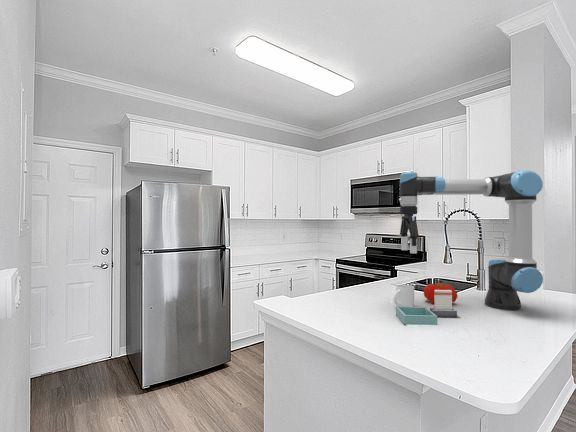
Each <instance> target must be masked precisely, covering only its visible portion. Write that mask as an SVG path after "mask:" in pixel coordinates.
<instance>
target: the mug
mask: <svg viewBox="0 0 576 432" xmlns="http://www.w3.org/2000/svg"><path fill="white" fill-rule="evenodd" d="M393 303H394V305H396V306H395V307H415V287H414V285H411V284H404V283H402V284H396V286H395V292H394V294H393Z"/></svg>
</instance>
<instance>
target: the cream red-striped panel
mask: <svg viewBox="0 0 576 432" xmlns="http://www.w3.org/2000/svg"><path fill="white" fill-rule="evenodd" d="M433 304H434V305H433V306H434V307H433V308H434V309H435V310H452V309H453V303H452V291H451V290H434V303H433Z"/></svg>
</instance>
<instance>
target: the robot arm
mask: <svg viewBox="0 0 576 432" xmlns="http://www.w3.org/2000/svg"><path fill="white" fill-rule="evenodd" d="M543 184H544V183H543V180H542V177H541V176H540V175H539V174H538V173H537V172H535V171H532V170H528V169H525V170H524V169H523V170H522V169H521V170H516V171H513V172H509V173H505V174H500V175H496V176H486V177H484V178H483V179H481V178H480V179H478V178H477V179H473V178H472V179H467V178H466V179H465V178H464V179H458V178H457V179H445V178H444V177H443V176H436V175H435V176H419V175H418V173H417V172H416V171H405V172H402V173H401V174H400V176H399V198H398V201H399V203H400V204H399V205H400V207H399V214H400V215H403V216H401V223H400V230H399V235H400V237H401V239H400V240H401V247H400V249H401V251H408V249H409V253H410V254H418V240H417V239H418V238H419V237H420V236H419V235H420V233H419V231H418V229H419V228H418V223H417V216H416V215H417V214H418V196H425V195H426V196H431V195H432V196H433V195H434V196H435V195H436V196H437V195H438V196H439V195H444V196H446V195H447V196H449V195H452V196H453V195H456V196H457V195H458V196H459V195H466V196H467V195H469V196H470V195H483V196H484V197H485V198H486V197H487V198H489V197H492V198H503V199H504V202H505V203H507V204H508V257H507V258H506V259H490V260H489V261H488V265H487V268H488V290H487V292H486V296H485V298H484V305H485V306H487V307H490V308H492V309H493V308H494V309H498V310H504V311H505V310H506V311H519V310H522V302H521V300H520V296H519V294H518V292H519V293H524V294H529V293H530V294H531V293H534V292H536V291H537V290H538V289H541V286H542V285H543V282H544V276H543V274H542V272H540V270H539V269H538V268H537V267H538V266H537V265H538V263H537V261H536V260H535V259H534V258H533V204H534V203H535V202H537V195H539V193H540V192H541V191H542V189H543ZM408 232H409V234H408ZM408 237H409V238H408ZM408 240H409V244H408ZM408 245H409V246H408ZM408 247H409V248H408Z"/></svg>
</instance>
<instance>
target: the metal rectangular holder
mask: <svg viewBox="0 0 576 432" xmlns="http://www.w3.org/2000/svg"><path fill="white" fill-rule="evenodd" d="M429 310H430V311H431V312H433V313H434V314H435V315H436V316H437V319H461V316H459V315H458V311H457V309H454V308H452V310H435V309H434V307H430V308H429Z"/></svg>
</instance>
